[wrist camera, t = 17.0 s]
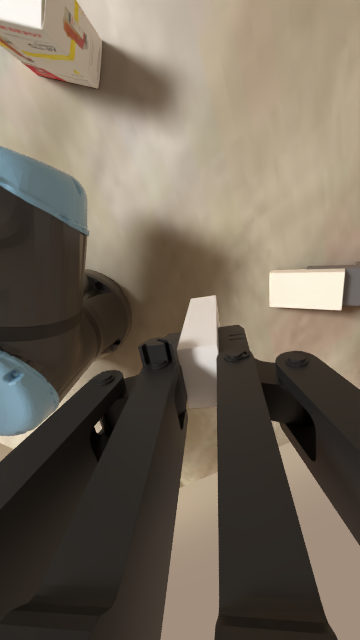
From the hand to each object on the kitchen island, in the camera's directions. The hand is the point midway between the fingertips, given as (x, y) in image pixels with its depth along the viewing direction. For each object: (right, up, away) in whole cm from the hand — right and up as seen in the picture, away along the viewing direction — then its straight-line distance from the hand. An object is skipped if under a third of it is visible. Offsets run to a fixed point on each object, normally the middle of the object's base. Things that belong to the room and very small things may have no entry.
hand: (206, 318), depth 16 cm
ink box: (-15, +32, +16) cm, 39 cm away
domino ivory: (+12, +5, +22) cm, 26 cm away
